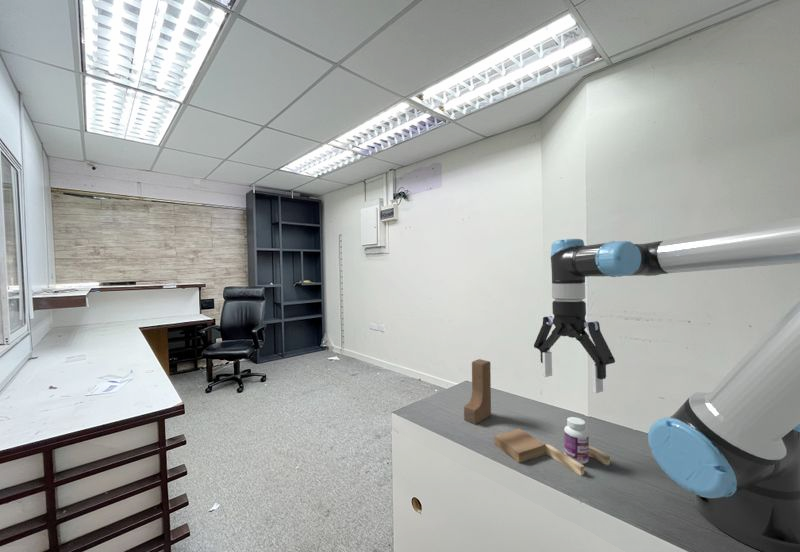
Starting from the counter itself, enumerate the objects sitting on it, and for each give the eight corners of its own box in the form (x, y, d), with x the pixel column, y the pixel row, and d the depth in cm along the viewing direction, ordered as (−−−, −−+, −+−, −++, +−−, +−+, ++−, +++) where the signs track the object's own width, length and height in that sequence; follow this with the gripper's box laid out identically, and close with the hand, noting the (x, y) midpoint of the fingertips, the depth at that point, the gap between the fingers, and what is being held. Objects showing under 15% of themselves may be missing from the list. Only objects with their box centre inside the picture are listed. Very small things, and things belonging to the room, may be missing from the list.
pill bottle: (581, 467, 74) (581, 427, 74) (560, 456, 78) (559, 419, 78) (592, 459, 77) (592, 421, 77) (571, 449, 81) (570, 413, 81)
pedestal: (545, 454, 79) (545, 444, 79) (519, 463, 76) (519, 453, 76) (519, 437, 88) (519, 428, 88) (494, 444, 84) (494, 435, 84)
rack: (609, 464, 75) (609, 456, 75) (580, 475, 71) (580, 467, 71) (572, 443, 84) (572, 436, 84) (544, 452, 80) (544, 445, 80)
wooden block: (475, 425, 95) (474, 367, 95) (463, 419, 98) (462, 364, 98) (491, 415, 101) (490, 361, 101) (479, 411, 104) (479, 358, 104)
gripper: (631, 302, 69) (634, 396, 69) (537, 297, 91) (539, 368, 91) (611, 304, 66) (614, 403, 65) (519, 298, 88) (521, 372, 88)
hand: (570, 383), depth 78 cm, fingers open, 13 cm apart
